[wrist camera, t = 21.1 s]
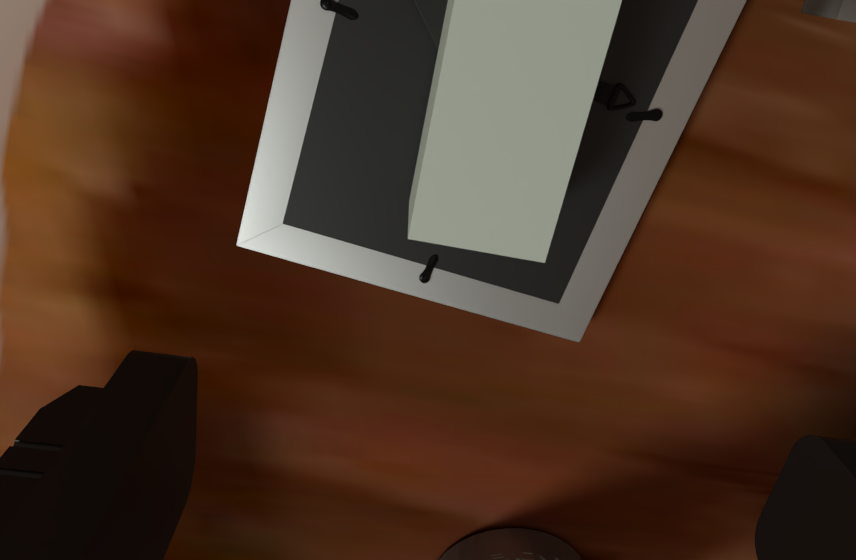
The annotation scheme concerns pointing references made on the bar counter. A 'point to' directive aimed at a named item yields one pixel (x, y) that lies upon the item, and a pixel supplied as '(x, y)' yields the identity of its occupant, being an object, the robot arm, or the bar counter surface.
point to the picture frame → (400, 140)
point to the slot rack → (832, 9)
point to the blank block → (506, 121)
